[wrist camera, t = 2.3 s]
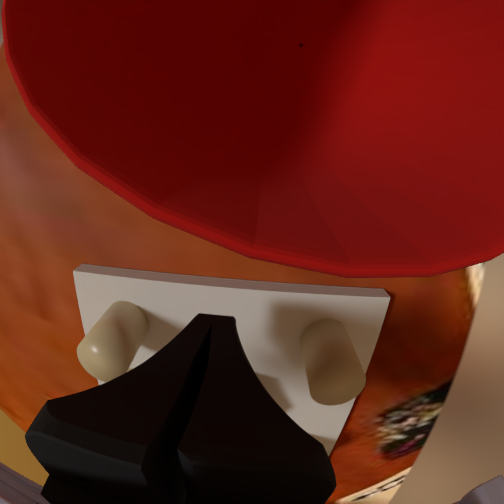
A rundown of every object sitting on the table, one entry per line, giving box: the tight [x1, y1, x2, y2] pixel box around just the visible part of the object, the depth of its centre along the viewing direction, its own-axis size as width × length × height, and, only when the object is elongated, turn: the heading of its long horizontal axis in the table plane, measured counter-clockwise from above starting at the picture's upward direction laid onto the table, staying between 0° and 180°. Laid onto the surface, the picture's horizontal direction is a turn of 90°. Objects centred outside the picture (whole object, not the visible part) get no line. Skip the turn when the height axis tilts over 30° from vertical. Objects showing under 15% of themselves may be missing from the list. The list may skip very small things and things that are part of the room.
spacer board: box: [73, 264, 390, 456], centre depth 16 cm, size 20×16×4 cm
